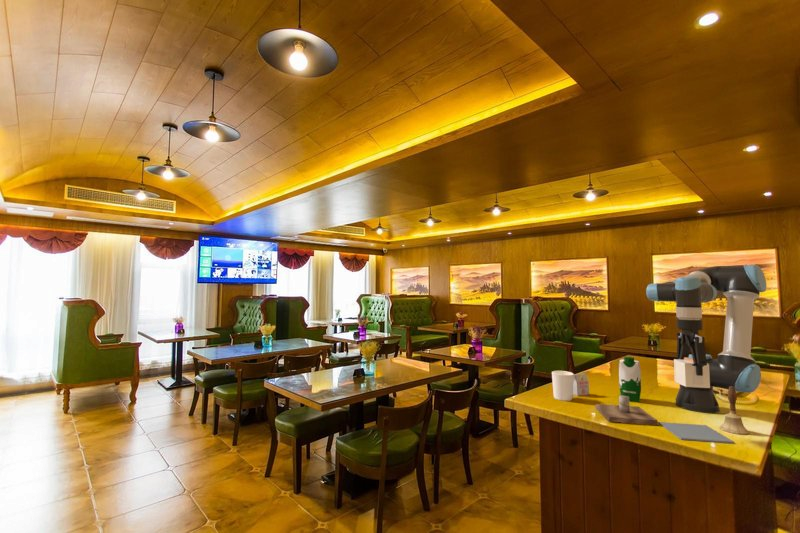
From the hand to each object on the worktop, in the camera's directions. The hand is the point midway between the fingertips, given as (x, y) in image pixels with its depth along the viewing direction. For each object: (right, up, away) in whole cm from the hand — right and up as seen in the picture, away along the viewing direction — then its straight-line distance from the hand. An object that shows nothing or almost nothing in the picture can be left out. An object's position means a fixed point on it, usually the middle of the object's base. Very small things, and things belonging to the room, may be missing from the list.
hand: (691, 381), depth 137 cm
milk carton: (+2, -21, +40) cm, 45 cm away
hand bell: (+17, -19, +2) cm, 25 cm away
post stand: (-15, -19, +16) cm, 29 cm away
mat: (0, -18, -1) cm, 18 cm away
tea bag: (-17, -22, +48) cm, 56 cm away
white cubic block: (0, -1, 0) cm, 1 cm away
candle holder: (-29, -21, +42) cm, 55 cm away
